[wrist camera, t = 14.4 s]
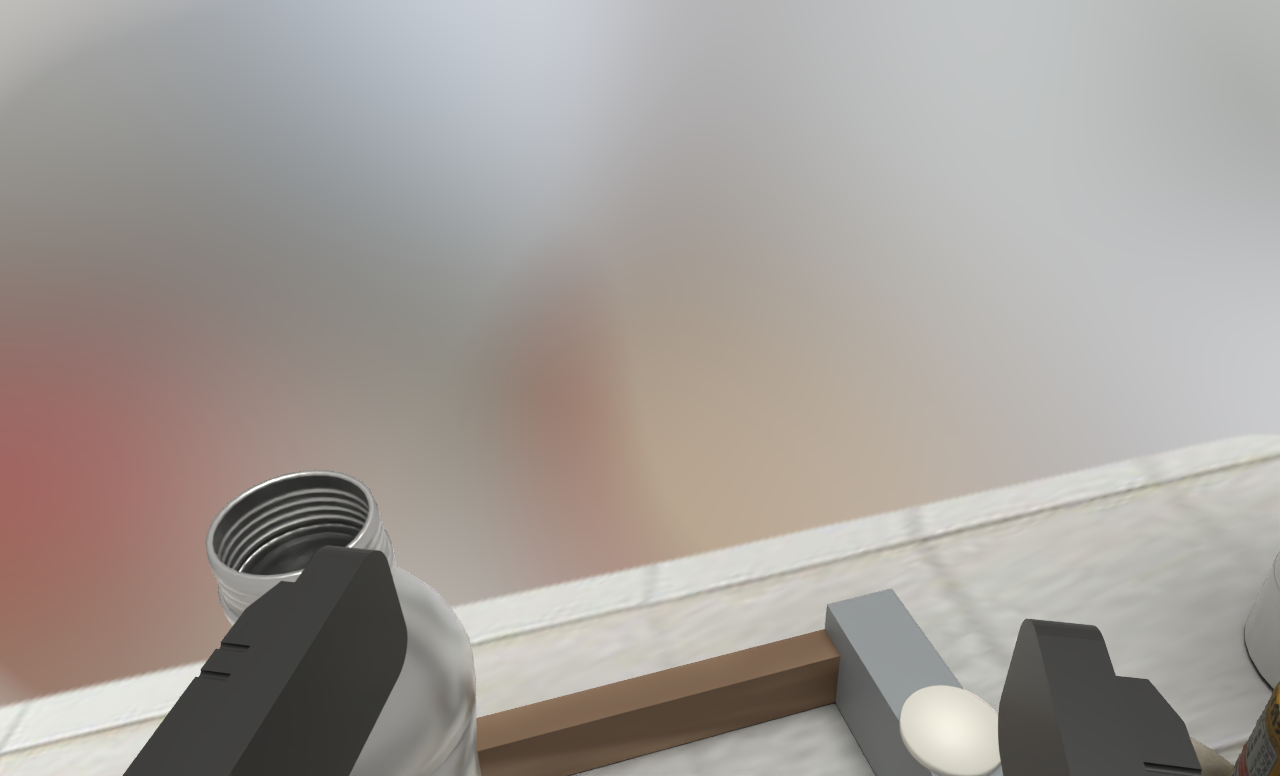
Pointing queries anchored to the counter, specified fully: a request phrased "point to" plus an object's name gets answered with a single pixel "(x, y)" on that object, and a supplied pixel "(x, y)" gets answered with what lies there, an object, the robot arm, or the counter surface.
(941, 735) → the grey beam
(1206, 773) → the condiment
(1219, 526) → the counter surface
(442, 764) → the plastic bottle
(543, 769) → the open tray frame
